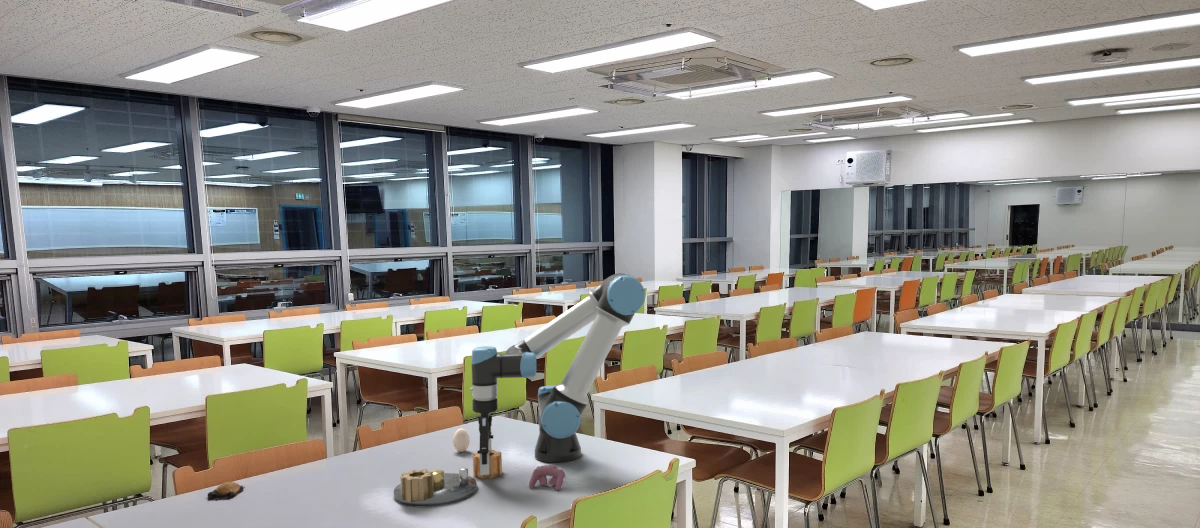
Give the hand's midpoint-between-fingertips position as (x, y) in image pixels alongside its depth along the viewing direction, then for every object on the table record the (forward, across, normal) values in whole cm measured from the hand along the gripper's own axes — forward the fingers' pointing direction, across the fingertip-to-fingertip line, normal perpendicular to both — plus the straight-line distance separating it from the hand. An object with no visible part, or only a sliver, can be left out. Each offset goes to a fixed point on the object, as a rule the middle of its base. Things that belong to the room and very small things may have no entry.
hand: (486, 467), depth 221 cm
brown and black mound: (+4, +3, -74) cm, 75 cm away
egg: (+2, -25, -10) cm, 27 cm away
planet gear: (+2, 0, 0) cm, 2 cm away
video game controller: (+2, +15, +18) cm, 23 cm away
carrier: (+2, +13, -14) cm, 19 cm away
